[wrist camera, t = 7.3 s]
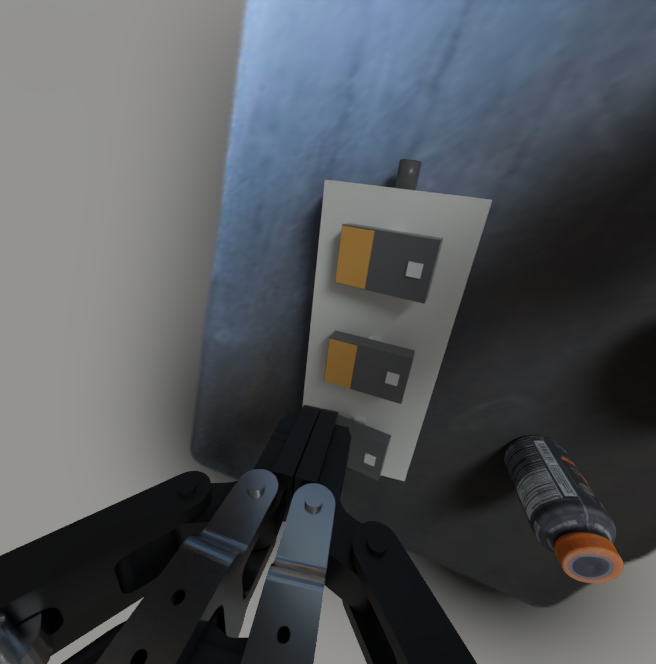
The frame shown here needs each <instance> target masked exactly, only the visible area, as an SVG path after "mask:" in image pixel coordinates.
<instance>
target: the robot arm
mask: <svg viewBox="0 0 656 664" xmlns="http://www.w3.org/2000/svg"><path fill="white" fill-rule="evenodd" d="M338 418H339V412H337V411H332V410H328V409H323V408H322V409H321V408H318V407H314V406H309V405H304V406H303V408H302V410H301V412H300V414H299V416H297V415H293V414H289V415H287V416H286V417H285V418H283V419H282V420H281V421H280V423H279V424H278V426H277V428H276V430H275V432H274V433H273V435H272V437H271V440H270V441H269V442H268V444H267V446H266V448H265V449H264V451H263V453H262V455H261V457H260V458H259V460H258V462H257V464H256V466H255V467H254V469H253V470H251V471H249V472H247V473H245V474H244V475H242V476H241V477H240V478H239V480H238V481H235V482H230V483H210V479H209V477H208V476H207V475H206V474H204V473H202V472H199V471H189V472H185V473H183V474H180V475H178V476H176V477H173V478H171V479H169V480H167V481H165V482H162V483H160V484H158V485H156V486H154V487H151V488H149V489H147V490H145V491H143V492H140V493H138V494H136V495H134V496H131V497H129V498H127V499H125V500H123V501H121V502H118V503H116V504H114V505H112V506H109V507H107V508H105V509H103V510H101V511H98V512H96V513H94V514H92V515H90V516H87V517H85V518H83V519H81V520H78V521H76V522H74V523H72V524H70V525H67V526H65V527H63V528H61V529H58V530H56V531H54V532H52V533H50V534H48V535H45V536H43V537H41V538H39V539H37V540H34V541H32V542H30V543H28V544H25V545H23V546H21V547H19V548H16V549H14V550H12V551H10V552H8V553H5V554H3V555H1V556H0V664H47V663H48V661H49V659H50V656H52V655H53V654H55V653H56V652H58V651H59V650H61V649H63V648H64V647H66V646H67V645H69V644H70V643H72V642H74V641H75V640H77V639H78V638H80V637H81V636H83V635H85V634H86V633H88V632H89V631H91V630H92V629H94V628H96V627H97V626H99V625H100V624H102V623H103V622H105V621H107V620H108V619H110V618H111V617H113V616H114V615H116V614H118V613H119V612H121V611H122V610H124V609H125V608H127V607H128V606H130V605H132V604H133V603H135V602H136V601H138V600H140V599H141V598H143V597H144V598H143V599H142V600H141V602H140V603H139V605H138V606H137V607H136V609H135V610H134V612H133V613H132V614H131V616H130V617H129V618H128V620H127V621H125V622H123V623H121V624H119V625H117V626H115V627H114V628H112V629H111V630H109V631H108V632H106V633H105V634H103V635H102V636H101V637H99V638H97V639H96V640H95V641H93V642H92V643H90V644H89V645H87V646H86V647H84V648H83V649H82V650H80V651H79V652H77V653H76V654H74V655H73V656H71V657H70V658H68V659H67V660H66V661H64V662H63V663H61V664H313V662H314V655H315V648H316V641H317V634H318V627H319V619H320V612H321V605H322V598H323V591H324V585H325V586H327V587H328V588H329V589H330V590H331V591H333V592H334V593H335V594H336V595H338V596H339V597H340V598H341V599H342V601H343V605H344V608H345V610H346V613H347V616H348V618H349V620H350V623H351V626H352V628H353V630H354V633H355V635H356V638H357V640H358V643H359V645H360V647H361V650H362V652H363V655H364V657H365V660H366V662H367V664H477V663H476V661H475V660H474V658H473V657H472V655H471V654H470V652H469V650H468V649H467V647H466V646H465V644H464V642H463V641H462V639H461V638H460V636H459V634H458V633H457V631H456V630H455V628H454V626H453V625H452V623H451V622H450V620H449V619H448V617H447V616H446V614H445V612H444V611H443V609H442V607H441V606H440V604H439V603H438V601H437V600H436V598H435V596H434V595H433V593H432V592H431V590H430V588H429V587H428V585H427V584H426V582H425V581H424V579H423V577H421V574H420V573H419V571H418V570H417V568H416V567H415V565H414V563H413V562H412V560H411V559H410V557H409V555H408V554H407V552H406V551H405V549H404V547H403V546H402V544H401V543H400V541H399V539H398V538H397V536H396V535H395V533H394V532H393V531H392V530H391V529H390V528H389V527H387V526H386V525H384V524H382V523H380V522H376V521H368V522H365V523H363V524H362V523H360V522H359V521H357V520H356V519H354V518H353V517H352V516H350V515H349V514H348V513H347V512H346V511H345V509H344V508H343V506H342V504H341V502H340V495H341V491H342V486H343V481H344V477H345V472H346V467H347V462H348V456H349V450H350V443H351V434H350V431H349V427H345V426H341V425H338ZM282 521H284V522H286V523H285V526H284V530H283V533H282V537H281V540H280V544H279V547H278V551H277V554H276V558H275V560H274V563H272V564H271V566H270V568H269V570H268V574H267V576H266V580H265V583H264V586H263V590H262V594H261V597H260V600H259V604H258V607H257V610H256V614H255V617H254V621H253V624H252V627H251V631H250V634H249V637H248V638H238V636H239V633H240V631H241V628H242V624H243V621H244V617H245V613H246V609H247V606H248V604H249V601H250V599H251V597H252V595H253V592H254V590H255V588H256V586H257V584H258V581H259V579H260V577H261V575H262V572H263V570H264V568H265V566H266V563H267V562H268V559H269V557H270V554H271V553H272V551H273V548H274V546H275V543H276V539H277V535H278V532H279V529H280V527H281V524H282Z"/></svg>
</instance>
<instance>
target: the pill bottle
mask: <svg viewBox="0 0 656 664" xmlns="http://www.w3.org/2000/svg"><path fill="white" fill-rule="evenodd" d="M504 463H505V465H506V468H507V470H508V473H509V475H510V478H511V480H512V483H513V485H514V487H515V490H516V492H517V495H518V497H519V500H520V502H521V504H522V507H523V509H524V511H525V514H526V516H527V519H528V521H529V523H530V526H531V528H532V531H533V533H534V535H535V537H536V538H537V540H538V541H539V542H540V543H541V544H542V545H543V546H544V547H545V548H547V549H548V550H550V551H551V552H553V553H555V555H556V557H557V559H558V560H559V562H560V564H561V567H562V568H563V570H564V571H565V572H566V574H568V575H569V576H570V577H572V578H574V579H576V580H578V581H582V582H587V583H602V582H607V581H610V580H613V579H615V578H616V577H618V576H619V575H620V574H621V573H622V571H623V568H624V564H623V561H622V559H621V557H620V556H619V554H618V553H617V551H616V549H615V547H614V545H613V543H614V541H615V538H616V528H615V525H614V522H613V521H612V519H611V517H610V516H609V514H608V513H607V511H606V510H605V508H604V507H603V505H602V504H601V502H600V501H599V499H598V498H597V496H596V495H595V494H594V492H593V491H592V489H591V488H590V486H589V485H588V483H587V482H586V480H585V479H584V477H583V476H582V474H581V473H580V471H579V470H578V468H577V467H576V466H575V464H574V463H573V461H572V460H571V458H570V457H569V455H568V454H567V452H566V451H565V449H564V448H563V447H562V446H561V445H560V444H559V443H558V442H556V441H554V440H553V439H551V438H548V437H544V436H527V437H523V438H520V439H518V440H516V441H514V442H513V443H511V444H510V445H509V446H508V447H507V449H506V451H505V453H504Z"/></svg>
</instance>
